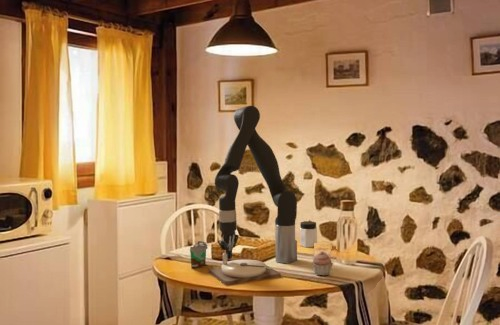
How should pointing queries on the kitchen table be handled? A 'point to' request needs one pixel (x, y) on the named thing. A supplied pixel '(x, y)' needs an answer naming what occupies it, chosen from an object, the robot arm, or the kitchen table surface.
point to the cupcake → (322, 264)
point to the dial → (242, 267)
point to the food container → (198, 255)
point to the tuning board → (234, 280)
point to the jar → (308, 234)
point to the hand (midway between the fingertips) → (229, 258)
